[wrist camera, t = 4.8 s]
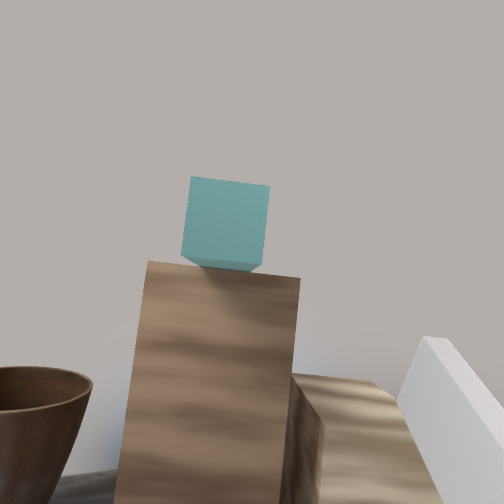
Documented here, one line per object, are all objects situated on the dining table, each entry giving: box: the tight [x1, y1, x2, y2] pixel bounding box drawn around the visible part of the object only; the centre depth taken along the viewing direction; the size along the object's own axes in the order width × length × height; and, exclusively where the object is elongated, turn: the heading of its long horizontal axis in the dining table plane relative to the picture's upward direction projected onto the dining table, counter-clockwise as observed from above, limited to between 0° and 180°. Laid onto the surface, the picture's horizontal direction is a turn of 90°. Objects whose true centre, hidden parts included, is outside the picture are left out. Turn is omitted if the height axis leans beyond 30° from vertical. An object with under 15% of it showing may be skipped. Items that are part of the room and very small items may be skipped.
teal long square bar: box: [181, 176, 270, 272], centre depth 31 cm, size 28×4×4 cm, turn 4°
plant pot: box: [0, 366, 93, 504], centre depth 36 cm, size 15×15×16 cm
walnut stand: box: [113, 261, 301, 504], centre depth 34 cm, size 20×14×30 cm
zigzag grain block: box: [279, 373, 444, 504], centre depth 34 cm, size 16×10×19 cm, turn 4°
